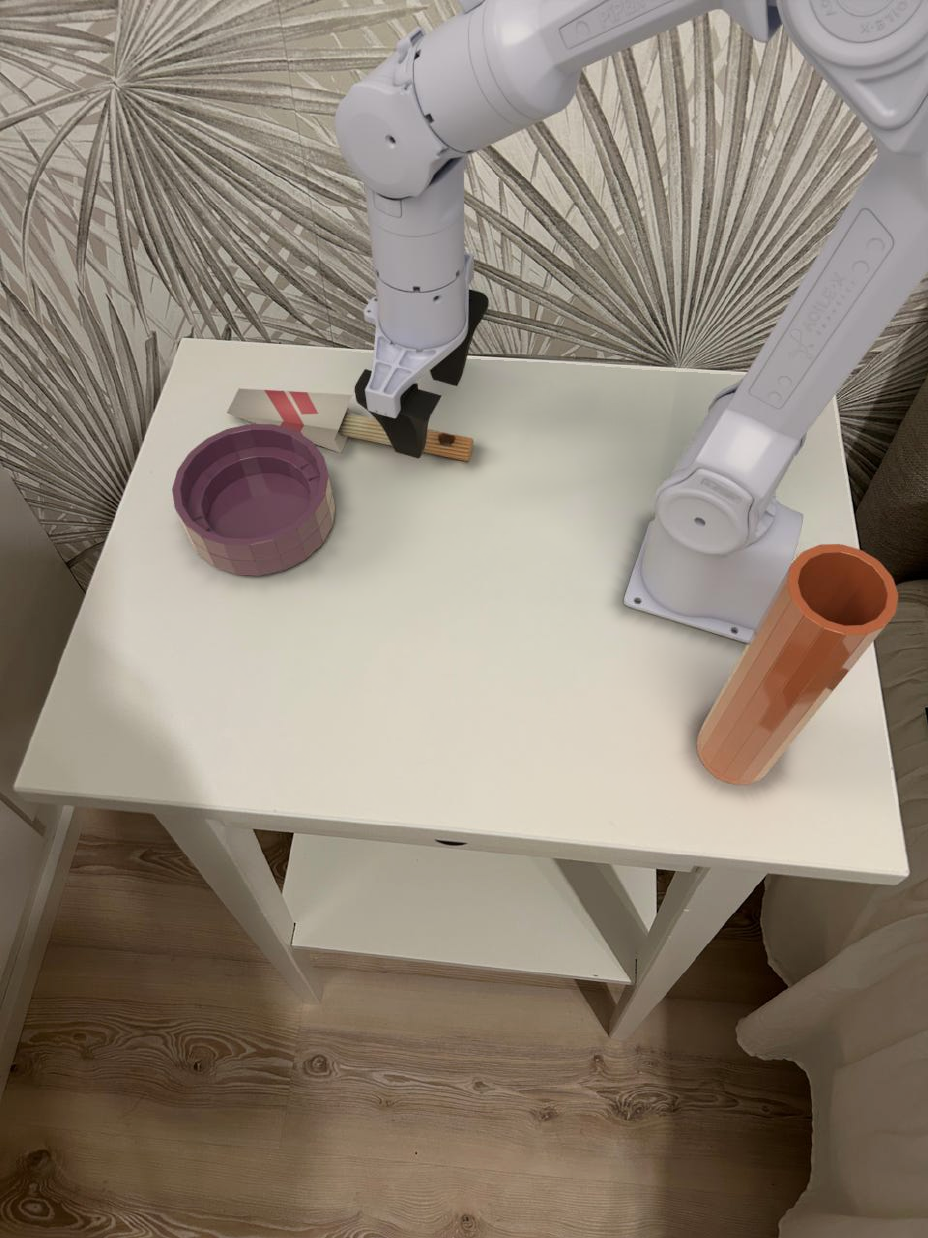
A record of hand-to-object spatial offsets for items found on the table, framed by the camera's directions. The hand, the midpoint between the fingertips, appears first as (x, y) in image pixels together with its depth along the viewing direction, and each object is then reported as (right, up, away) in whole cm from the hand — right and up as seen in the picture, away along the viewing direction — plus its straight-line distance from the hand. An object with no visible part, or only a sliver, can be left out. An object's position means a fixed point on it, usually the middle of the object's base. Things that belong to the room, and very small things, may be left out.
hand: (428, 414), depth 67 cm
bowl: (-13, -8, +2) cm, 15 cm away
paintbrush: (-6, 0, +6) cm, 9 cm away
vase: (+21, -24, -8) cm, 33 cm away
